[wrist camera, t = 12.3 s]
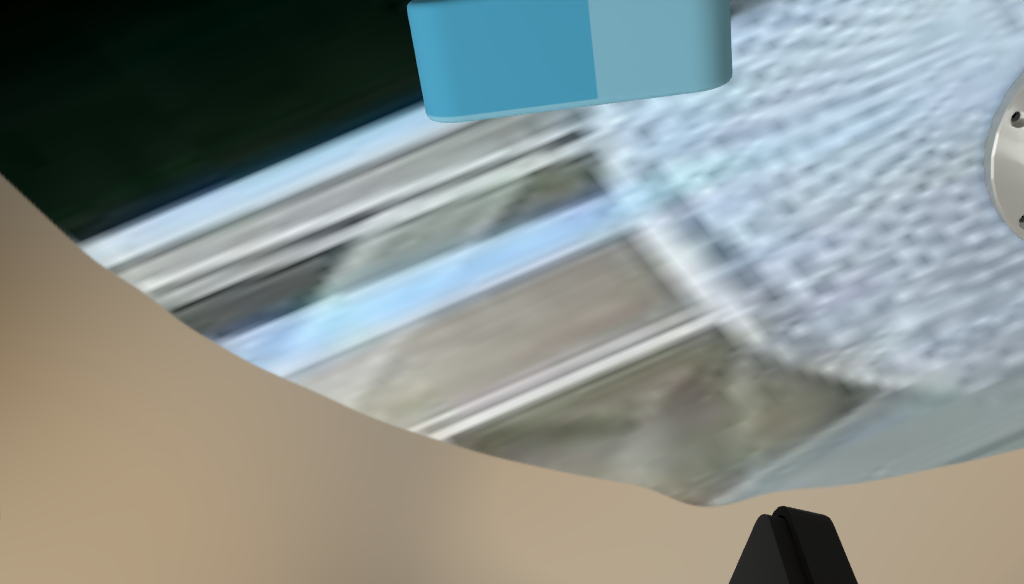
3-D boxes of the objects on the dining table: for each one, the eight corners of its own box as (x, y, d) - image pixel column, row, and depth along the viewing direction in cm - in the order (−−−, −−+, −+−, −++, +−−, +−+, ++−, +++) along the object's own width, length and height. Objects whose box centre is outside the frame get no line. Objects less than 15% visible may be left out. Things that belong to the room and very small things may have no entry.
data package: (692, -61, 41) (735, -42, 30) (697, 36, 43) (739, 88, 32) (442, -25, 42) (398, 6, 32) (457, 69, 44) (421, 128, 33)
